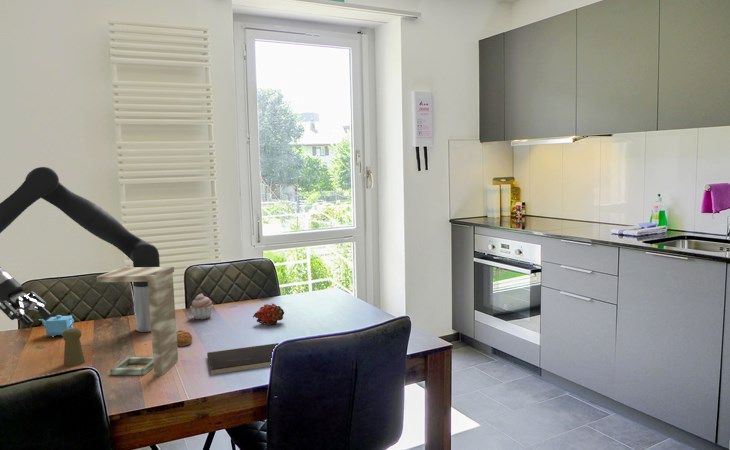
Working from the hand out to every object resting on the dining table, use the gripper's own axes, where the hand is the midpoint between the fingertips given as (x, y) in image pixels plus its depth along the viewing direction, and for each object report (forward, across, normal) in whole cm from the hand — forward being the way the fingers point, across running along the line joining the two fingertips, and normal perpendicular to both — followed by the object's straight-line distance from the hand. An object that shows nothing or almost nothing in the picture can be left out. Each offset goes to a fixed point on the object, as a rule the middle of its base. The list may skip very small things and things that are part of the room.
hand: (40, 321), depth 172 cm
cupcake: (+33, +51, -13) cm, 62 cm away
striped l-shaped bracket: (+34, -5, -15) cm, 37 cm away
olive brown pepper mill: (+17, 0, +3) cm, 17 cm away
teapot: (0, +29, +20) cm, 35 cm away
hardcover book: (+56, +2, -36) cm, 66 cm away
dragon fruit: (+54, +41, -34) cm, 76 cm away
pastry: (+36, +20, -16) cm, 44 cm away
